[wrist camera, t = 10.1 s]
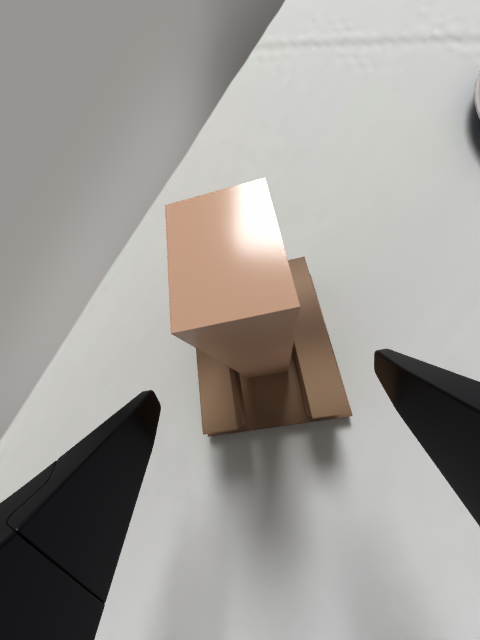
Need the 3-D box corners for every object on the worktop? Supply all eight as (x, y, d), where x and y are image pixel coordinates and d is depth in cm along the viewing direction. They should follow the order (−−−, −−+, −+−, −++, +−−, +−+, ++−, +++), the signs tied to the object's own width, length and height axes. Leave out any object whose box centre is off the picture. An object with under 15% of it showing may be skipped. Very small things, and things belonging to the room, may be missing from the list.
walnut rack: (349, 414, 16) (372, 420, 12) (211, 434, 17) (188, 446, 13) (308, 278, 19) (315, 247, 15) (199, 302, 21) (178, 279, 17)
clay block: (288, 371, 16) (299, 306, 5) (248, 378, 17) (170, 333, 5) (276, 320, 18) (265, 177, 6) (240, 328, 18) (165, 205, 7)
